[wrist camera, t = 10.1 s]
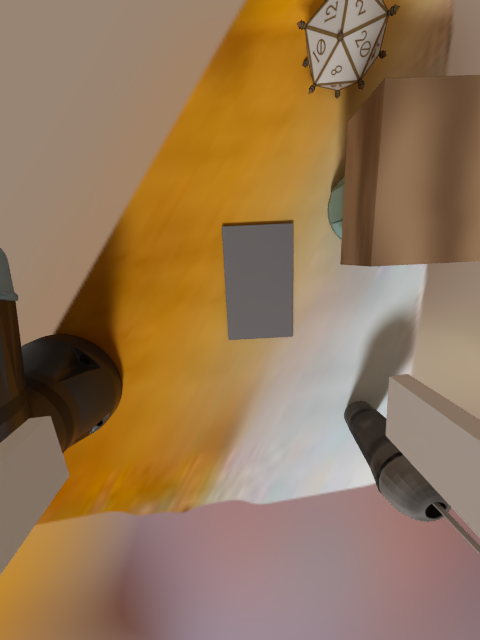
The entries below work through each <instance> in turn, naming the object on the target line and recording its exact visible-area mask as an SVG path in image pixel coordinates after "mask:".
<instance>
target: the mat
mask: <svg viewBox="0 0 480 640" xmlns="http://www.w3.org/2000/svg"><path fill="white" fill-rule="evenodd" d="M222 236H223V253H224V269H225V286H226V303H227V319H228V336H229V340H237V339H255V338H274V337H292V336H293V223H289V224H267V225H245V226H223V227H222Z"/></svg>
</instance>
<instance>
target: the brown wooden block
mask: <svg viewBox="0 0 480 640" xmlns="http://www.w3.org/2000/svg"><path fill="white" fill-rule="evenodd" d="M468 261H480V75H467V76H466V75H465V76H436V77H408V78H385V79H384V80H383V82H382V83H381V84H380V85H379V86H378V87H377V89H376V90H375V91H374V92H373V93H372V94H371V96H370V97H369V98H368V99H367V100H366V101H365V103H364V104H363V105H362V106H361V107H360V108H359V110H358V111H357V112H356V113H355V114H354V115H353V117H352V118H351V119H350V120H349V121H348V123H347V143H346V163H345V184H344V204H343V224H342V245H341V264H343V265H358V266H388V265H408V264H429V263H449V262H468Z"/></svg>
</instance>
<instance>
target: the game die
mask: <svg viewBox="0 0 480 640" xmlns="http://www.w3.org/2000/svg"><path fill="white" fill-rule="evenodd" d="M399 7H400V6H397V5H396V4H395V5H394V6H392V7H391V9H390V10H388V9H387V7H386V5H385V3H384V1H383V0H325V2H324V3H323V4H322V5H321V7H320V8H319V9H318V10H317V11H316V13H315V14H314V15H313V16H312V18H311V19H310V20H309V21H308V22H307V24H305V23H304V21H302V20H301V21H300V22H298V23H297V25H298V27H299V29H301V30H302V29H305V35H306V45H307V55H308V60H306V61H304V63H303V65H302V66H304V67H306V66H308V64H309V67H310V72H311V76H312V80H313V85H311V87H310V88H309V94H310V93H312V92H313V91H314V90H315V87H316V86H318V87H323V88H327V89H332V90H336V93H335V96H336V98H337V99H338V97H339V96H340V90H341V89H343V88H346V87H348V86H350V85H353V84H355V83H358V86H359V89H363V88H364V84H365V83H364V81H362V78H363V76H364V75H365V74H366V72H367V71H368V69H369V68H370V66H371V65H372V64H373V62H374V61H375V59H376V58H377V57H378V56H379V57H380V58H383V57H385V56H386V51H384V50H383V51H380V50H381V46H382V41H383V37H384V33H385V29H386V25H387V20H388V16H390V15H391V16H393V14H396V12H397V10H398V9H399Z"/></svg>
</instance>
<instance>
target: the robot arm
mask: <svg viewBox="0 0 480 640" xmlns="http://www.w3.org/2000/svg"><path fill="white" fill-rule="evenodd" d="M17 300H18V295H17V294H16V293H15V292H14V289H13V284H12V279H11V274H10V269H9V264H8V260H7V257H6V255H5V253H4V252H3V250H2V249H1V248H0V575H1V573H2V572H3V570H4V569H5V567H6V566H7V565H8V563H9V562H10V560H11V559H12V557H13V556H14V555H15V553H16V552H17V550H18V549H19V547H20V546H21V545H22V543H23V542H24V540H25V539H26V537H27V536H28V534H29V533H30V532H31V530H32V529H33V527H34V526H35V524H36V523H37V521H38V520H39V519H40V517H41V516H42V514H43V513H44V511H45V510H46V509H47V507H48V506H49V504H50V503H51V501H52V500H53V498H54V497H55V496H56V494H57V493H58V491H59V490H60V488H61V487H62V486H63V484H64V483H65V481H66V480H67V478H68V477H69V473H68V469H67V466H66V463H65V460H64V457H63V453H64V451H65V450H66V449H67V448H69V447H70V446H72V445H74V444H75V443H77V442H79V441H80V440H82V439H84V438H85V437H87V436H89V435H90V434H92V433H94V432H95V431H97V430H98V429H99V428H101V427H102V426H103V425H104V424H105V423H106V422H107V421H108V419H109V418H110V417H111V415H112V414H113V413H114V411H115V410H116V408H117V406H118V404H119V402H120V398H121V392H122V386H121V379H120V376H119V373H118V370H117V368H116V366H115V365H114V363H113V362H112V360H111V359H110V358H109V357H108V355H107V354H106V353H105V352H104V351H102V350H101V349H100V348H99V347H97V346H96V345H94V344H93V343H91V342H89V341H87V340H84V339H82V338H79V337H75V336H71V335H49V336H45V337H42V338H39V339H37V340H34V341H32V342H30V343H27V344H25V345H23V346H22V347H21V343H20V342H21V341H20V333H19V326H18V318H17V311H16V302H15V301H17ZM386 436H387V437H388V439H389V440H390V441H391V442H392V443H393V444H394V445H395V446H396V447H397V448H398V449H399V451H400V452H401V453H402V454H403V455H404V456H405V457H406V458H407V459H408V460H409V461H410V463H411V464H412V465H413V466H414V467H415V468H416V469H417V470H418V471H419V472H420V474H421V475H422V476H423V477H424V478H425V479H426V480H427V481H428V482H429V483H430V484H431V486H432V487H433V488H434V489H435V490H436V491H437V492H438V493H439V494H440V495H441V496H442V498H443V499H444V500H445V501H446V502H447V503H448V504H449V505H450V506H451V507H452V508H453V510H454V511H455V512H456V513H457V514H458V515H459V516H460V517H461V518H462V519H463V521H464V522H465V523H467V525H468V526H469V527H470V528H471V529H472V530H473V531H474V532H475V534H476V535H477V536H478V537H479V538H480V420H479V419H478V418H476V417H475V416H473V415H471V414H470V413H468V412H467V411H465V410H464V409H462V408H460V407H459V406H457V405H455V404H454V403H453V402H451V401H449V400H448V399H446V398H445V397H443V396H441V395H440V394H438V393H437V392H435V391H434V390H432V389H430V388H429V387H427V386H426V385H424V384H422V383H421V382H419V381H418V380H416V379H415V378H413V377H412V376H410V375H408V374H405V375H397V376H389V389H388V405H387V420H386Z"/></svg>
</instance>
